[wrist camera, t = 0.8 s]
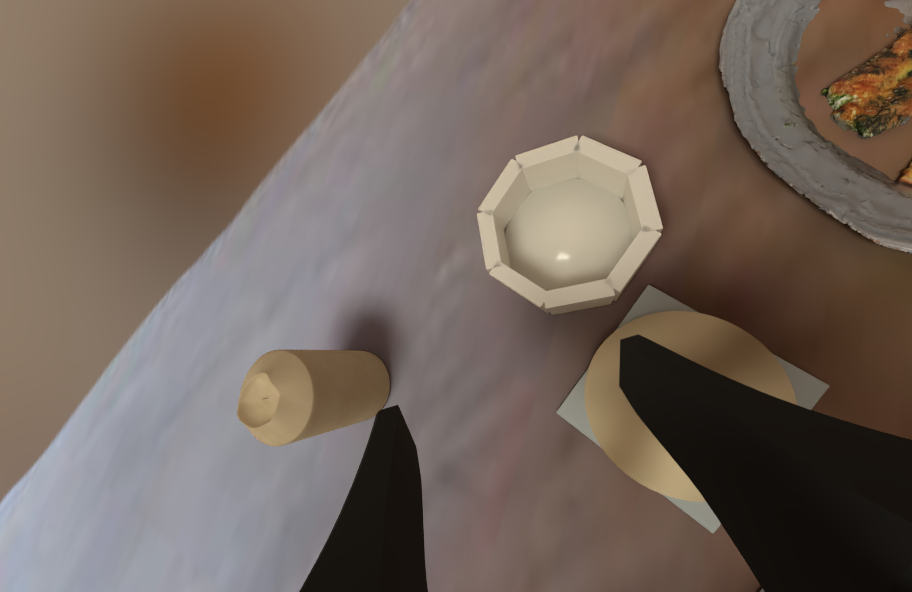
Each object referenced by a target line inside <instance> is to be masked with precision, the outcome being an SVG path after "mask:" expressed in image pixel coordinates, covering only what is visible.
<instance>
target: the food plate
mask: <svg viewBox="0 0 912 592" xmlns="http://www.w3.org/2000/svg"><path fill="white" fill-rule="evenodd" d="M819 3H820V0H736V2H735V4H734V6H733V8H732V9H731V12H730V13H729V15H728V19H727V23H726V25H725V27H724V29H723V32H722V34H723V35H722V38H721V42H720V44H721V45H720V50H719V51H720V64H719V68H720V71H721V72H722V74H723V75H722V74H721V75H722V77H721V78H722V79H723V82H724V87H726V88H727V90H728V92H729V94H730V96H729V97H730V98H729V99H730V102H731V104H732V105H731V107H733V108H732V111H734V112H733V113H735V115H733V116H734V121H735V122H737V124H738V125H737V126H738V127H739V128H740V129H739V130H741V133H742V135H743V136H744V137H745V138H746V139H747V140H748V141H749V143H750V144H751V148H752V149H754V150H755V152H757V154H758V155H759V156H760V157H761V160H763V161H764V162H766V163H767V164H768V165H767V164H766V165H767V167H769V168H770V169H771V170H772V171H773V172H774V173H775V174H776V175H778V176H779V177H780V178H782V179H783V180H784V181H785V182H787V184H790V186H792V187H793V189H795V190H796V191H797V192H798V193H799V194H801V196H802V197H803V195H802V194H805V197H806V198H809V199H810V200H811V201H810V202H813V203H815V204H816V205H818V206H820V207H821V208H819V207H818V208H819V209H822V210H825V211H826V213H828V214H832V215H833V217H834V218H835V219H838V220H839V221H840V222H842V223H844V224H846V223H847V224H848V225H851V226H850V227H851V228H852V229H853V230H854V231H858V232H859V233H861V235H862V236H864V237H867V238H868V239H869V240H872V241H873V242H875V243H876V244H879V245H882V246H883V247H884V246H885V247H888V248H891V249H894V250H900V251H904V252H910V253H911V254H912V162H911V164H910V166H909V168H907V169H905V170H904V171H901V172H902V174H901V176H900V177H899V178H898V179H897V180H896V181H893V180H891V179H890V178H889V177H888V176H887V175H886V174H884V173H883V172H880V171H878V170H877V169H875V168H873V167H872V166H870V165H868V164H866V163H864V162H863V161H861V160H860V159H858V158H856V157H853V156H849V154H848V153H847V152H845V151H844V150H842V149H841V148H839V147H838V145H835V144H833V143H832V142H831V141H826V140H825V138H824V137H822V136H821V135H820V133H818V131H817V129H816V127H815V125H814V123H813V122H812V121H811V120H810V119H808V118H807V117H806V116H805V115H804V112H805V110H806V109H805V107H803V106H801V105H800V104H799V96H800V92H799V90H798V89H797V87H796V84H795V77H794V76H795V75H796V71H797V69H798V67H795V66H794V64H795V62H796V60H797V54H798V51H799V49H800V48H801V47H800V43H801V37H802V34H803V32H804V30H805V29H806V28H807V26H808V24H809V21H810V20H813V19H814V17H815V15H816V14H817V13H818V11H819V10H820V9H819V8H818V4H819ZM884 3H885V5H886V7H893V8H897V9H899V11H900V12H901V13H903V14H904V16H905V17H904V18H903V20H902V21H904V23H906V24H909V25H910V26H911V28H912V0H890V1H886V2H884ZM906 29H907V28H906ZM906 29H905V30H904V29H903V28H902V27H897V28H895V29H894V32H893V33H894V34H896V33H897V32H899V33H897V38H898V37H900V36H901V35H902V34H903V33H904V32H905V31H906ZM887 36H889V34H886V37H887ZM821 95H824V96H825V97H826V98H827V100H828V103H829V105H831V107H832V108H833V110H834V112H833V113H832V114H831V116H830V118H831V119H832V120H833V121H834V122H835V123H836V124H837V125H838V126H840V127H841V128H842V129H843V130H845V131H846V130H849V129H852V130H853V131H858V132H859V134H858V137H860V138H865V139H866V138H870V137H872V136H875V135H877V134H881V132H882V131H884V130H887V129H889V128H893V127H896V126H898V125H904V124H905V123H906V122H907V120H908V119H910V118H911V117H912V30H910V31H907V33H906V34H905V35H904V36H902V37H901V38H900V39H898V40H897V41H896V42H894V43H893V47H892V48H890V49H888V48H884V49H882V50H881V51H880V52H879V53H878V54H877V55H875V56H874V57H872V58H871V59H870V60H869V61H867V62H866V63H865V64H862V65H860V66H859V67H857V68H854V69H853V70H852V71H851V72H849V73H848V74H846V75H845V76H843V77H841V78H840V79H838V80H837V81H836V82H835V83H834V84H832V85H831V86H830V87H828V88H824V89H823V90H822V93H821ZM803 198H804V197H803Z"/></svg>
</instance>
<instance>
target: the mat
mask: <svg viewBox="0 0 912 592" xmlns="http://www.w3.org/2000/svg"><path fill="white" fill-rule="evenodd" d="M667 311H688V312H696V313H699V312H697V311H695V310H693V309H692V308H690V307H688V306H686V305H684V304H683V303H681V302H679V301H677V300H676V299H674V298H672V297H670V296H668V295H667V294H665V293H663V292H661V291H659V290H658V289H656V288H654V287H652V286H650V285H648V286H647V287H646V289H645V290H644V291H643V293H642V294H641V296H640V297H639V298H638V300H637V301H636V302H635V304H634V305H633V307H632V308H631V309H630V311H629V312H628V314H627V315H626V316H625V318H624V319H623V321H622V322H621V323H620V325H619V326H618V327H617V329H619V328H620V327H622V326H623V325H625V324H627V323H629V322H631V321H633V320H635V319H637V318H640V317H643V316H646V315H650V314H654V313H658V312H667ZM617 329H616V330H617ZM616 330H615V331H616ZM773 355H774V354H773ZM774 357H775V358H776V359H777V360H778V362H779V363H780V364H781V366H782V367H783V369H784V371H785V373H786V374H787V376H788V378H789V380H790V382H791V385H792V387H793V390H794V393H795V397H796V401H797V405H798V406H801V407H804V408H807V409H809V410H811V409H812V408H813V407H814V405H815V404H816V403H817V402H818V400H819V399H820V398H821V397H822V395H823V394H824V393H825V392H826V390H827V389H828V388H829V385H828V384H826V383H824V382H822V381H820V380H819V379H817V378H815V377H813V376H812V375H810V374H808V373H806V372H804V371H803V370H801V369H799V368H797V367H795V366H794V365H792V364H790V363H788V362H786V361H785V360H783V359H781V358H779V357H778V356H776V355H774ZM587 372H588V369H587V370H586V372H585V373H584V375H583V376H582V377H581V379H580V380H579V382H578V383H577V384H576V386H575V387H574V389H573V390H572V391H571V393H570V394H569V395H568V397H567V398H566V400H565V401H564V402H563V404H562V405H561V407H560V408H559V409H558V411H557V412H556V413H557V414H559V415H560V416H561V417H562V418H564V419H565V420H566V421H568V422H569V423H570V424H571V425H573V426H574V427H575V428H577V429H578V430H579V431H581V432H582V433H583V434H584V435H586V436H587V437H588V438H590V439H591V440H592V441H594V442H595V443H596V444H597V445H599V446H600V444H599V442H598V441H597V439H596V437H595V435H594V433H593V431H592V428H591V426H590V424H589V420H588V417H587V413H586V407H585V400H584V388H585V381H586V375H587ZM600 447H601V446H600ZM601 448H602V447H601ZM662 495H663V494H662ZM664 496H665V497H666V498H667V499H669V500H670V501H671V502H673V503H674V504H675V505H677V506H678V507H679V508H680V509H682V510H683V511H684V512H686V513H687V514H688V515H689V516H691V517H692V518H693V519H695V520H696V521H697V522H699V523H700V524H701V525H702V526H704V527H705V528H706V529H708V530H709V531H710V532H712V533H714V532H715V531H716V530H717V528H718V527H719V526H720V525H721V523H720V521H719V520H718V518H717V517H716V515H715V514H714V512H713V511H712V510H711V508H710V507H709V505H708V504H707V502H693V501H687V500H681V499H676V498H673V497H669V496H666V495H664Z"/></svg>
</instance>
